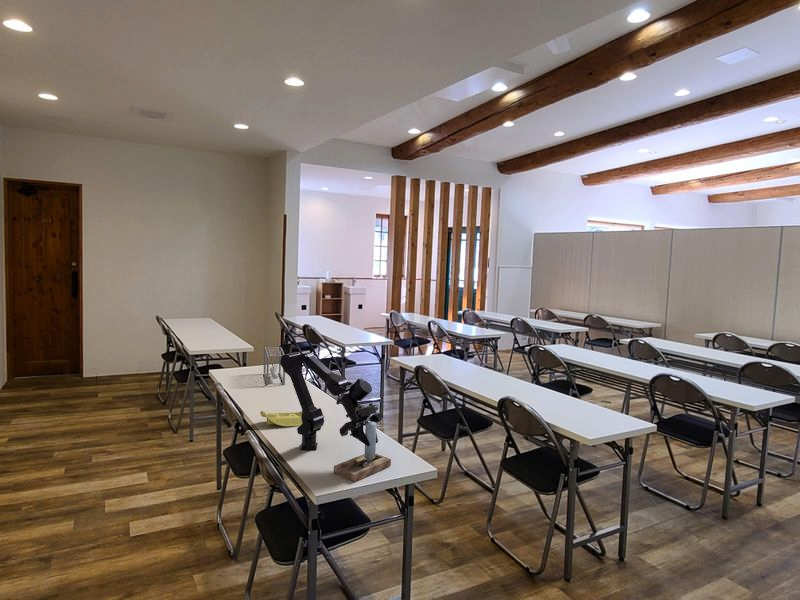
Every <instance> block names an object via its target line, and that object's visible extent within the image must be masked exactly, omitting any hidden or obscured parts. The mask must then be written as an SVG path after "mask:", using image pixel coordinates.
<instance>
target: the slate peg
mask: <svg viewBox="0 0 800 600" xmlns="http://www.w3.org/2000/svg"><path fill="white" fill-rule="evenodd" d="M377 426H378V424H377V423H375V422H366V426H364V427H365V428H364V429H365V430H364V431H365V432H364V433H365V435H366V437H367V439H368V441H369V443H370V445H369V446H367V445H365V444H364V454H365V455H364V457H365V458H366V459H367V461H365V462H363V464H361V466H362V468H365V467H367V466H366V464H368V463H370V462H372V461H373V460H372V459H374V458H375V453H377V452H376V450H377V449H376V448H377V447H376V445H377V443H376V433H377Z"/></svg>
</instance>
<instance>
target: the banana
mask: <svg viewBox="0 0 800 600" xmlns="http://www.w3.org/2000/svg"><path fill="white" fill-rule="evenodd" d="M259 415H261V417H263V418H266V425H267V426H270V425H277V426H280V427H299V426H300V425H301V424H302V419H301V417H302V410H301V411H299V412H265V411H264V410H261V411H259ZM269 424H270V425H269Z"/></svg>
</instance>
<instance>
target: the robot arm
mask: <svg viewBox="0 0 800 600" xmlns="http://www.w3.org/2000/svg"><path fill="white" fill-rule="evenodd" d="M284 354H285V353H284ZM282 355H283V354H282ZM280 364H281V369H282V370H284V372H285V374H286V375H288V377H289V378H290V380H291V383H292V386H293V389H294V391H295V394H296V397H297V399H298V402H299V405H300V407H301V411H302V417H301V419H302V424H301V425H300V426H297V428H296V430H297V434H298V435H301V443H300V447H299V450H300V451H303V450H304V451H307V450H309V451H311V450H312V451H314V450H315V451H317V449H318V442H317V432H319V431H321V429H322V427H323V426H324V425H325V424H324V423H325V415H324V413H323V410H322V408H321V407H318V408H317V407H316V405H315V404H314V401H313V398H312V396H311V393H310V390H309V389H308V385H307V381H306V380H305V377H304V375H303V365H305V366H307V368H309V369H310V371H312V372H313V373H314V374H315V375H316V376H317V377H319V378H320V379H321V380H322V381H323V382H324V384H325V388H326V390H328V392H329V393H330V394H331V395H332V396H334V397H337V400H336V402H335V403H336V405H342V407H343V409H344V410H345V412H346V415H345V417H346V419H347V418H349V419H350V420H349V421H348V422H345V423H344V424H343V425H342V426H341V427H340V428H339V435H340V436H341V437H342V438H343V437H345V436H348V434H349V432H350V434H349V436H350V437H353V438H355V439H356V440H358V441H359V442H361V443H362V444H364V446H365V445H367V446H369V445H370V443H369V441H368V439H367V437H366V435H365V432H364V431H365V430H364V427H366V422H375V423H377V425H378V424H379V423H380V422H381V421H382V420H383V419H384V418H385V417H384V416H383V413H382V412H377V411H379V407H378V405H377V403H376V402H375V401H374V402H371V403H369V404H368V406H366V407H365V406H364V405H363V404H361V405H360V402H361V401H363V400H364V399H365V398H366V397H367V396H368V395H370V394H371V393H372V392H373V387H372V385H371V384H370V383H369V382H367V381H366V380H363V378H362V377H359V378H358V379H356V381H355V382H354V383H353V382H351V381H349V380H348V379H347V378H345V377H344V376H342V375H340V374H337V373H335V372H333V371H332V370H330V369H329V367H327V366H326V365H325V364H324V363H323V362H322V361H321V360H320V359H318V358H317V357H316V356H315V354H314V353H313V352H311V351H309V352H304V353H298V352H291V353H286V354H285V355H283V356H281V360H280ZM341 395H342V396H341ZM377 443H379V439H378V434H377V432H376V444H377Z"/></svg>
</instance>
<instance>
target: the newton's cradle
mask: <svg viewBox="0 0 800 600" xmlns="http://www.w3.org/2000/svg"><path fill="white" fill-rule="evenodd" d="M272 352H275V354H272ZM283 355H285V352H284V350H283V347H281V346H278V347H277V346H276V347H274V349H272V348H270V347H266V346H264V348H263V377H264V381H265V384H266V386H268V385H269V375H271V378H272V379H273V380H276V379H278V378H279V377H281V378H280V380H282V381H281V382H279V383H274V385H283V384H284V385H285V383H286V372H284V370H283V369H282V366H281V364H280V360H281V357H282V356H283ZM273 357H275V358H274V359H275V361H273ZM270 361H271V367H270V366H269V364H270ZM277 366H278V367H277ZM277 368H278V371H277ZM282 370H283V371H282ZM269 371H270V372H269ZM281 371H282V372H281Z"/></svg>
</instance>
